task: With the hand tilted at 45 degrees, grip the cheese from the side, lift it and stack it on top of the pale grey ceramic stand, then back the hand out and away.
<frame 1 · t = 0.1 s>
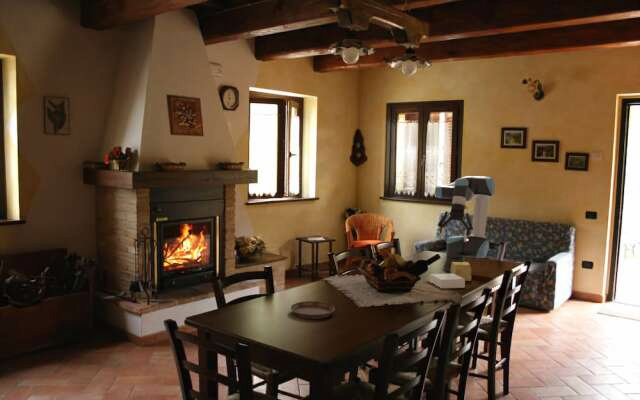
hand: (453, 240, 308), 28 cm above the table, tool tilted 20°, fingers open, 13 cm apart
stand: (446, 284, 316), on the table
plant saucer: (312, 314, 250), on the table
cheese: (460, 279, 333), on the table
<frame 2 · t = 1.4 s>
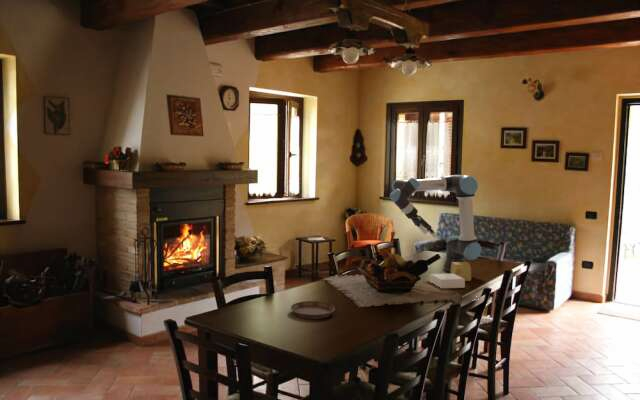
hand: (430, 234, 330), 27 cm above the table, tool tilted 45°, fingers open, 13 cm apart
nothing on the table moved.
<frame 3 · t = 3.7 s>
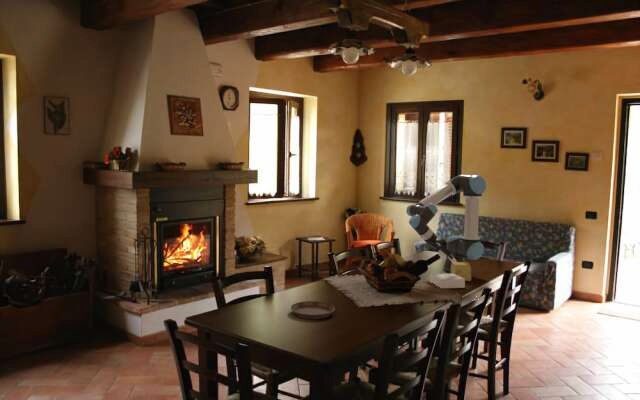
hand: (450, 260, 330), 12 cm above the table, tool tilted 45°, fingers open, 13 cm apart
nothing on the table moved.
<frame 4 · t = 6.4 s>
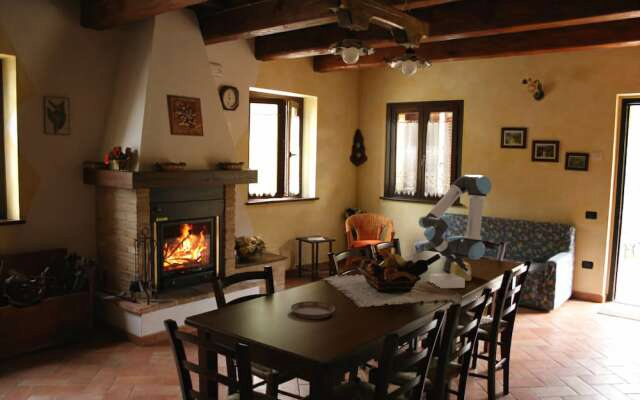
hand: (464, 271, 333), 4 cm above the table, tool tilted 45°, fingers closed on cheese, 11 cm apart
cheese: (460, 279, 333), on the table, touching gripper
everything else where it was.
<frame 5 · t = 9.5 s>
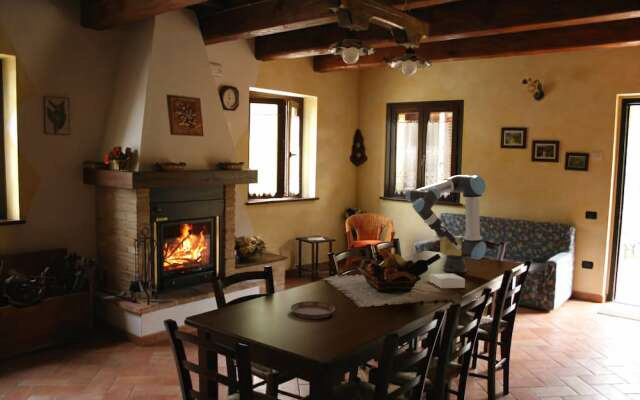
hand: (455, 247, 319), 22 cm above the table, tool tilted 45°, fingers closed on cheese, 11 cm apart
cheese: (450, 254, 319), point 17 cm above the table, touching gripper
everything else where it was.
when the fingers open (11 cm above the table, at t = 12.8 s): cheese drops 1 cm, resting on stand.
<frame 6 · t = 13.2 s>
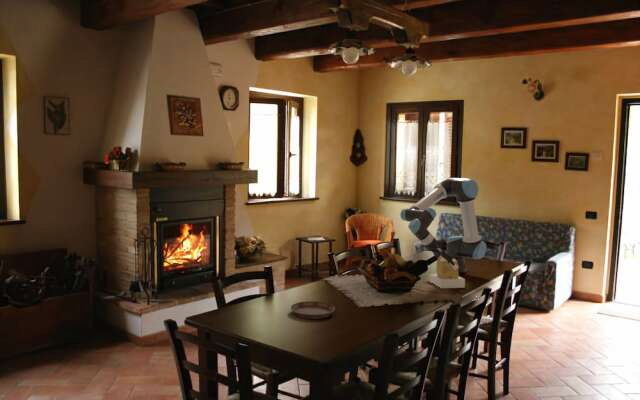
hand: (451, 266, 315), 11 cm above the table, tool tilted 45°, fingers open, 13 cm apart
cheese: (447, 276, 316), point 5 cm above the table, touching stand
everything else where it was.
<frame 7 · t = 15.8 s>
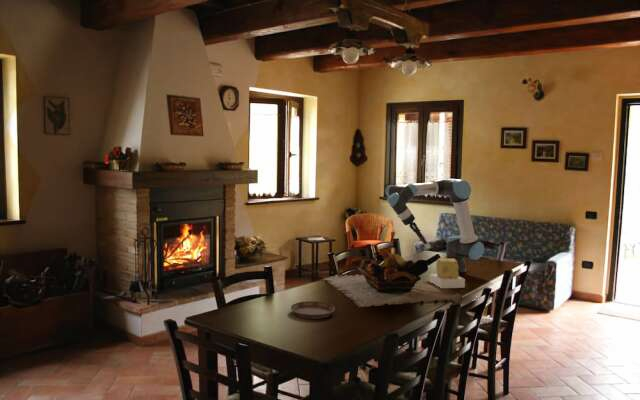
hand: (426, 244, 316), 23 cm above the table, tool tilted 40°, fingers open, 13 cm apart
nothing on the table moved.
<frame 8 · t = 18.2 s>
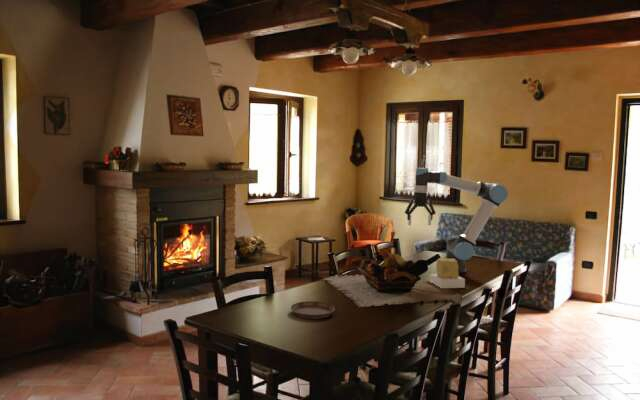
hand: (419, 225, 341), 32 cm above the table, tool pointing down, fingers open, 13 cm apart
nothing on the table moved.
at the end: cheese inside the target area on the stand (0.3 cm from its centre), point 4.8 cm above the stand's base; cheese tilted 0°; the gripper is holding nothing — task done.
